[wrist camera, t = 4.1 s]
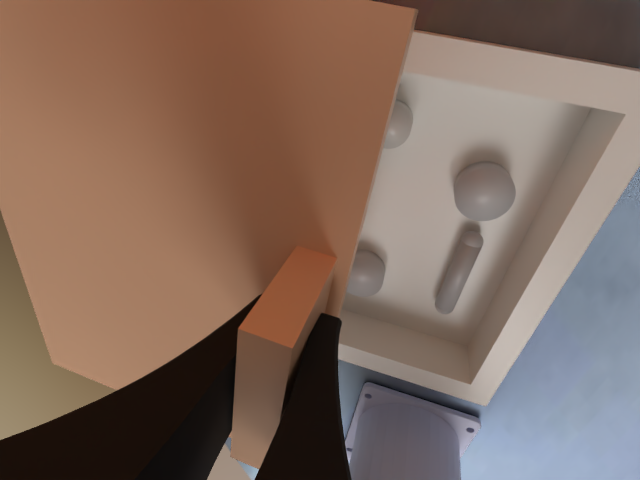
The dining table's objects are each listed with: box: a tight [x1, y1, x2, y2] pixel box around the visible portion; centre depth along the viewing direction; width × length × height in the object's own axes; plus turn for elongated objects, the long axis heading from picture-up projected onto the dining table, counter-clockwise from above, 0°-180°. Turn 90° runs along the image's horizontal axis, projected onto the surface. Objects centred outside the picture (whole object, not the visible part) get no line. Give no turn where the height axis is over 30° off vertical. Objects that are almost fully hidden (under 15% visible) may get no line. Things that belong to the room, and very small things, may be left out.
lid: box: [0, 0, 418, 469], centre depth 12 cm, size 17×13×5 cm
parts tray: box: [338, 29, 640, 406], centre depth 18 cm, size 16×12×4 cm
